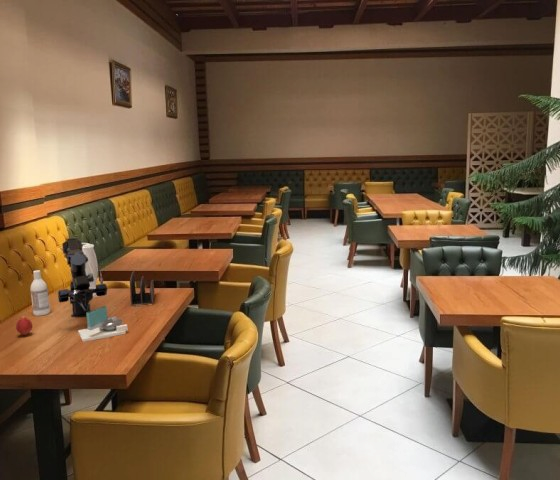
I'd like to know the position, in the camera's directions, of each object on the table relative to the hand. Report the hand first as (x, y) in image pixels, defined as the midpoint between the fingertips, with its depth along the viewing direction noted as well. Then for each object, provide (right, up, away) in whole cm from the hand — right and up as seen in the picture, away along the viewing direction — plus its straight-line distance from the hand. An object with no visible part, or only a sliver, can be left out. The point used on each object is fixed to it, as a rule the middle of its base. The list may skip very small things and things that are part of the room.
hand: (86, 310), depth 208 cm
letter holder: (+12, -1, +43) cm, 44 cm away
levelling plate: (+8, -9, -3) cm, 12 cm away
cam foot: (+9, -7, -3) cm, 11 cm away
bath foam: (-30, -5, +27) cm, 41 cm away
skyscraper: (-17, 0, +54) cm, 57 cm away
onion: (-24, -10, -2) cm, 26 cm away
